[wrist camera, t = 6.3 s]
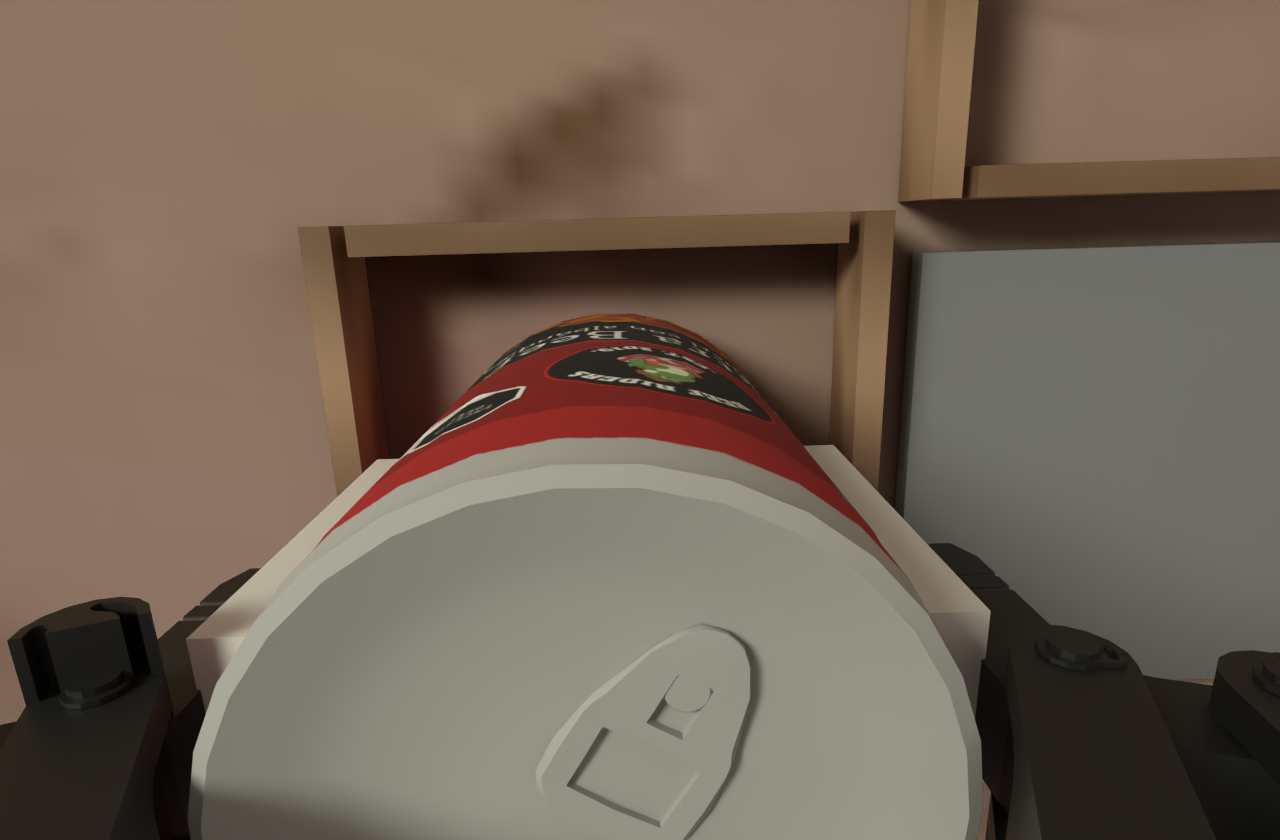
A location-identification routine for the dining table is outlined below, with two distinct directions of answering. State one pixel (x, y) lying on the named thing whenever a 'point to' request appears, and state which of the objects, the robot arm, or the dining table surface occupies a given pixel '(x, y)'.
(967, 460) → the slate board
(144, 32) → the dining table surface
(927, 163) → the empty crate
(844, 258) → the frame
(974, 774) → the canned food
